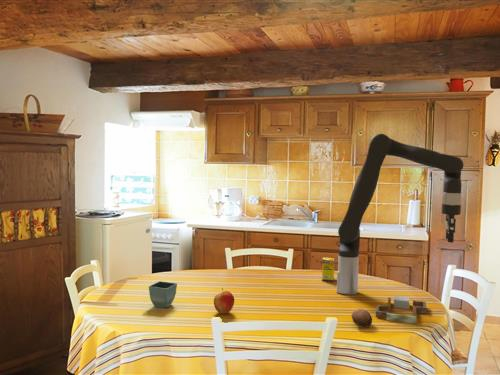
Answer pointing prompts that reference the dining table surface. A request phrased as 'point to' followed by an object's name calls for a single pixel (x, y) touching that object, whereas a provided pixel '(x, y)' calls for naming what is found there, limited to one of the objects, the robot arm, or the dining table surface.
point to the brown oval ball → (362, 318)
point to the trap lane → (385, 313)
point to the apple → (224, 302)
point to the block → (401, 302)
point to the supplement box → (328, 269)
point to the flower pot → (162, 293)
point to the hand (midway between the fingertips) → (449, 240)
